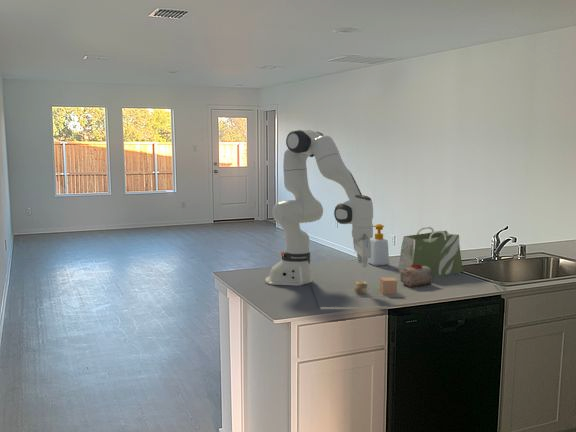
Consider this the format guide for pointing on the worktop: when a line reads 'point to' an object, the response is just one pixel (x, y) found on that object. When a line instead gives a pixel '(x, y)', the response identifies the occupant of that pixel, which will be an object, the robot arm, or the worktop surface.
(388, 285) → the base block
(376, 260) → the soap bottle
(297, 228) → the robot arm
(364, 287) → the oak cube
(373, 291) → the baseplate
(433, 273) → the grocery bag
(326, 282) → the worktop surface
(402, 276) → the food item
